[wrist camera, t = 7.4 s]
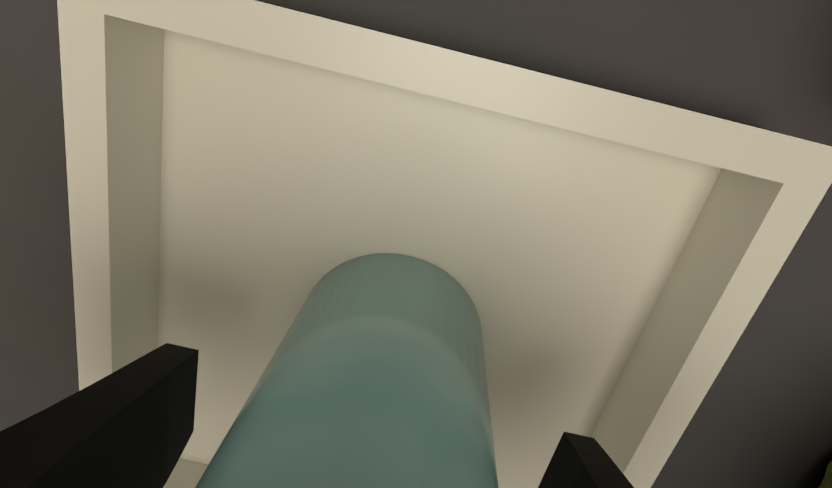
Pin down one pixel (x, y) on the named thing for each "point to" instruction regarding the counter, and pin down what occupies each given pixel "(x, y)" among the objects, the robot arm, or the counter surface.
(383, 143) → the cream tray
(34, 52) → the counter surface
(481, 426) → the pale teal cylinder
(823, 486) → the plant pot
